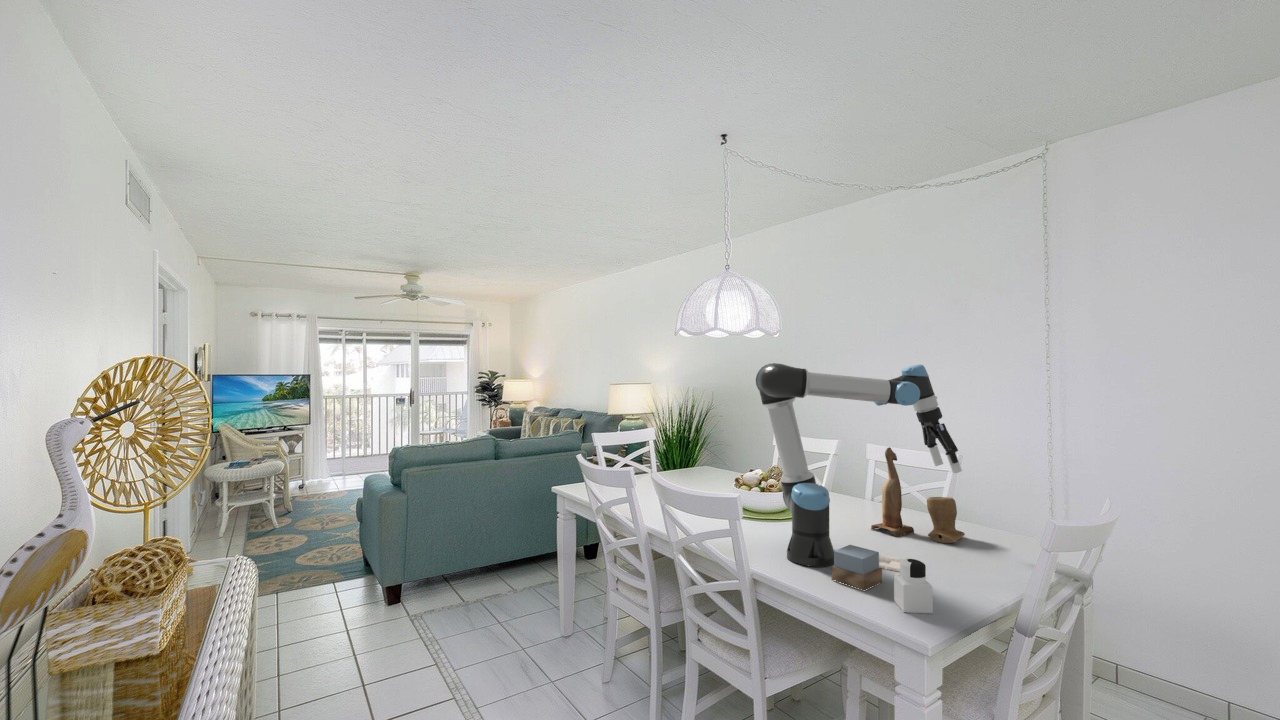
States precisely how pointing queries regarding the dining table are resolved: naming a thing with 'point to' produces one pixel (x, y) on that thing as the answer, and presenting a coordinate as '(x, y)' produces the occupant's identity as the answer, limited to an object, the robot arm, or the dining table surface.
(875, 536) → the dining table surface
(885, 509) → the bird sculpture
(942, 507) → the brown chunky piece
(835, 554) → the tower top block
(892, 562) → the newspaper
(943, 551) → the dining table surface
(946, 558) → the dining table surface
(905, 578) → the medicine bottle
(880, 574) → the tower base block
